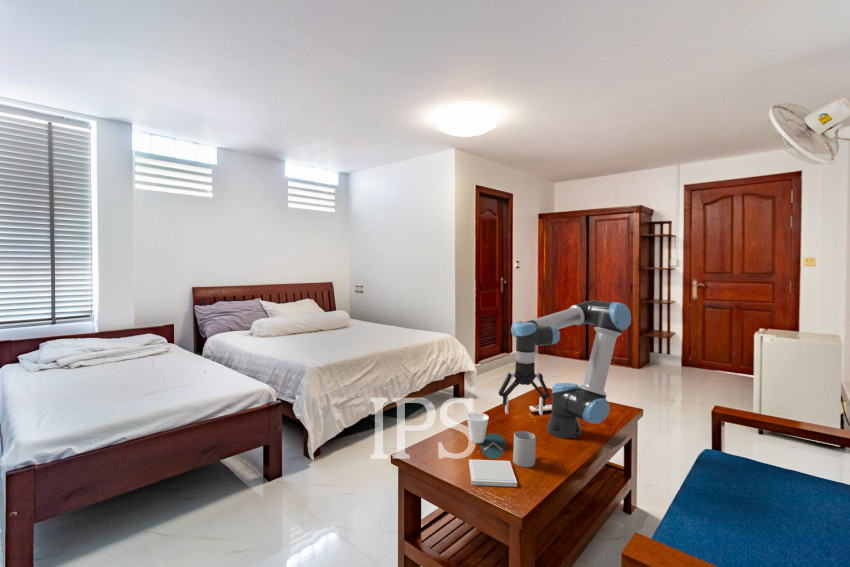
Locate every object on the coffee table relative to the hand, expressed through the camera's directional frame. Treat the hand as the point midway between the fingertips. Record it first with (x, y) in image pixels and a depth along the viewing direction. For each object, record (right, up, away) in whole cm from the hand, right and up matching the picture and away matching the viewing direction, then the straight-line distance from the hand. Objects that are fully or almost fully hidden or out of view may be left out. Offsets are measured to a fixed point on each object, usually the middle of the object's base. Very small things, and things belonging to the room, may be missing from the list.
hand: (523, 413), depth 164 cm
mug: (+1, -19, 0) cm, 19 cm away
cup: (-16, -18, +18) cm, 30 cm away
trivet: (-15, -19, -11) cm, 27 cm away
